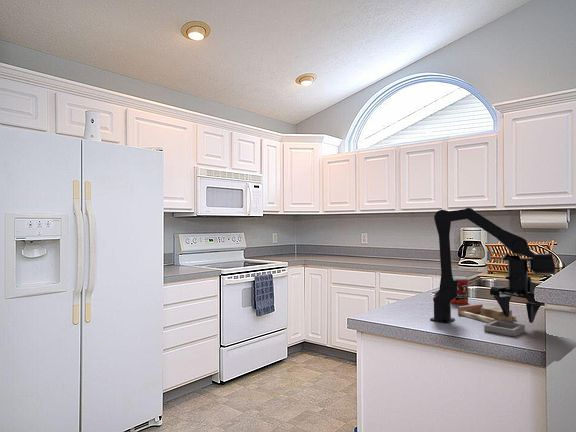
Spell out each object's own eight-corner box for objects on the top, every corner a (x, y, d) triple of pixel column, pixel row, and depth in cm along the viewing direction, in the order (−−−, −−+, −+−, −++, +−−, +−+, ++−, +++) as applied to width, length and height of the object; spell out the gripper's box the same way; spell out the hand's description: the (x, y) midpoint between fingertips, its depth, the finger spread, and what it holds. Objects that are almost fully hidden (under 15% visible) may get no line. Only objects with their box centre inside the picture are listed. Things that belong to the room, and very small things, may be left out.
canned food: (457, 305, 173) (456, 279, 173) (445, 301, 181) (444, 276, 181) (472, 303, 175) (471, 278, 175) (460, 300, 183) (459, 275, 183)
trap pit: (514, 336, 126) (514, 330, 126) (484, 331, 133) (484, 325, 133) (524, 331, 132) (524, 324, 132) (495, 326, 139) (495, 320, 139)
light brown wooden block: (512, 321, 145) (511, 310, 145) (499, 323, 143) (499, 311, 143) (493, 316, 153) (492, 306, 153) (481, 318, 150) (480, 307, 151)
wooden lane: (516, 320, 146) (516, 311, 146) (492, 323, 142) (492, 315, 142) (480, 311, 161) (480, 303, 161) (457, 314, 156) (457, 306, 157)
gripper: (561, 275, 133) (562, 323, 133) (510, 269, 151) (511, 312, 151) (537, 277, 129) (538, 327, 129) (488, 271, 147) (489, 315, 146)
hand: (519, 319), depth 139 cm, fingers open, 9 cm apart
